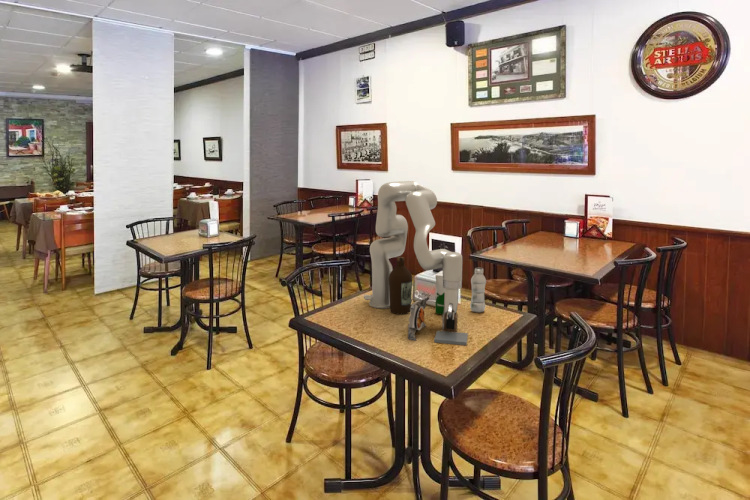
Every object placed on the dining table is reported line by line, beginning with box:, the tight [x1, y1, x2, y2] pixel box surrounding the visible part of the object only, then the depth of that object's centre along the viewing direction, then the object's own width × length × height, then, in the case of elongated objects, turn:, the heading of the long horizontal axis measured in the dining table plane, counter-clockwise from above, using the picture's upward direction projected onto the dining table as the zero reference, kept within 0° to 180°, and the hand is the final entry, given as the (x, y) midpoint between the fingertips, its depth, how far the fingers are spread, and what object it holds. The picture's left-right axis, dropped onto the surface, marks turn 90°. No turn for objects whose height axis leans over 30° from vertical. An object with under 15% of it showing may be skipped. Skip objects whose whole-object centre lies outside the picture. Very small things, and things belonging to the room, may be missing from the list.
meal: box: [407, 296, 430, 341], centre depth 176 cm, size 15×4×13 cm, turn 157°
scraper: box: [441, 312, 459, 332], centre depth 180 cm, size 6×8×7 cm
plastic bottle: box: [469, 267, 487, 313], centre depth 199 cm, size 6×7×20 cm
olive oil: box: [389, 256, 413, 315], centre depth 200 cm, size 11×11×25 cm
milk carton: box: [434, 270, 445, 315], centre depth 199 cm, size 9×9×20 cm
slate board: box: [433, 330, 469, 346], centre depth 171 cm, size 12×9×1 cm
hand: (451, 324), depth 180 cm, fingers open, 9 cm apart
